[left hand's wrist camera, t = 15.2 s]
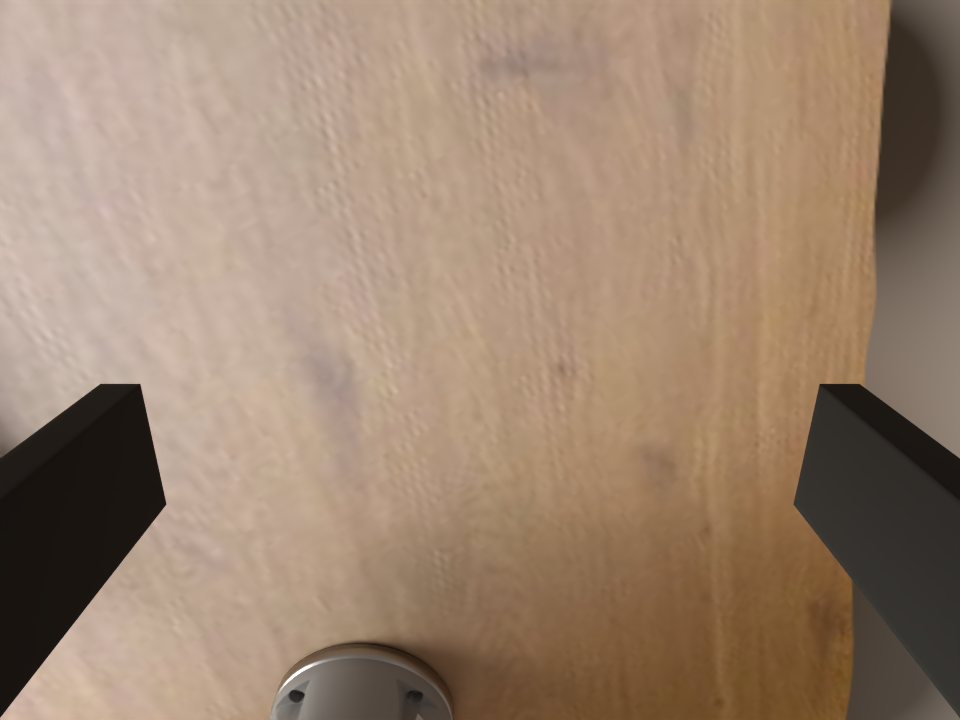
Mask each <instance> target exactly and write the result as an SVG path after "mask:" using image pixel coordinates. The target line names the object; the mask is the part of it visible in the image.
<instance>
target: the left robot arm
mask: <svg viewBox="0 0 960 720" xmlns="http://www.w3.org/2000/svg"><path fill="white" fill-rule="evenodd" d="M165 505H166V500H165V496H164V491H163V487H162V482H161V477H160V473H159V468H158V464H157V459H156V454H155V450H154V445H153V441H152V436H151V431H150V427H149V422H148V417H147V413H146V408H145V404H144V399H143V394H142V390H141V385H140V384H100V385H99V386H97V387H96V388H95V389H93V390H92V391H90V392H89V393H88V394H86V395H85V396H84V397H82V398H81V399H80V400H78V401H77V402H76V403H74V404H73V405H72V406H70V407H69V408H68V409H66V410H65V411H64V412H62V413H61V414H60V415H58V416H57V417H56V418H54V419H53V420H52V421H50V422H49V423H47V424H46V425H45V426H43V427H42V428H41V429H39V430H38V431H37V432H35V433H34V434H33V435H31V436H30V437H29V438H27V439H26V440H25V441H23V442H22V443H21V444H19V445H18V446H17V447H15V448H14V449H13V450H11V451H10V452H8V453H7V454H6V455H4V456H3V457H2V458H0V717H1V716H2V715H3V713H4V712H5V711H6V710H7V708H8V707H9V706H10V704H11V703H12V702H13V701H14V699H15V698H16V697H17V695H18V694H19V693H20V692H21V690H22V689H23V688H24V686H25V685H26V684H27V683H28V681H29V680H30V679H31V677H32V676H33V675H34V674H35V672H36V671H37V670H38V668H39V667H40V666H41V665H42V663H43V662H44V661H45V659H46V658H47V657H48V656H49V654H50V653H51V652H52V651H53V649H54V648H55V647H56V645H57V644H58V643H59V642H60V640H61V639H62V638H63V636H64V635H65V634H66V633H67V631H68V630H69V629H70V627H71V626H72V625H73V624H74V622H75V621H76V620H77V618H78V617H79V616H80V615H81V613H82V612H83V611H84V609H85V608H86V607H87V606H88V604H89V603H90V602H91V600H92V599H93V598H94V597H95V595H96V594H97V593H98V591H99V590H100V589H101V588H102V586H103V585H104V584H105V582H106V581H107V580H108V579H109V577H110V576H111V575H112V573H113V572H114V571H115V570H116V568H117V567H118V566H119V565H120V563H121V562H122V561H123V559H124V558H125V557H126V556H127V554H128V553H129V552H130V550H131V549H132V548H133V547H134V545H135V544H136V543H137V541H138V540H139V539H140V538H141V536H142V535H143V534H144V532H145V531H146V530H147V529H148V527H149V526H150V525H151V523H152V522H153V521H154V520H155V518H156V517H157V516H158V514H159V513H160V512H161V511H162V509H163V508H164V507H165ZM794 505H795V507H796V508H797V509H798V511H799V512H800V513H801V514H802V516H803V517H804V518H805V520H806V521H807V522H808V523H809V525H810V526H811V527H812V529H813V530H814V531H815V532H816V534H817V535H818V536H819V538H820V539H821V540H822V541H823V543H824V544H825V545H826V547H827V548H828V549H829V550H830V552H831V553H832V554H833V556H834V557H835V558H836V559H837V561H838V562H839V563H840V565H841V566H842V567H843V568H844V570H845V571H846V572H847V573H848V575H849V576H850V577H851V579H852V580H853V581H854V582H855V584H856V585H857V586H858V588H859V589H860V590H861V591H862V593H863V594H864V595H865V597H866V598H867V599H868V600H869V602H870V603H871V604H872V606H873V607H874V608H875V609H876V611H877V612H878V613H879V615H880V616H881V617H882V618H883V620H884V621H885V622H886V624H887V625H888V626H889V627H890V629H891V630H892V631H893V633H894V634H895V635H896V636H897V638H898V639H899V640H900V641H901V643H902V644H903V645H904V646H905V648H906V649H907V651H908V652H909V653H910V654H911V656H912V657H913V658H914V659H915V661H916V662H917V663H918V665H919V666H920V667H921V668H922V670H923V671H924V672H925V674H926V675H927V676H928V677H929V679H930V680H931V681H932V682H933V684H934V685H935V686H936V688H937V689H938V690H939V692H940V693H941V694H942V695H943V697H944V698H945V699H946V700H947V702H948V703H949V704H950V706H951V707H952V708H953V709H954V711H955V712H956V713H957V715H958V716H959V717H960V458H958V457H957V456H956V455H954V454H953V453H951V452H950V451H949V450H947V449H946V448H945V447H943V446H942V445H941V444H939V443H938V442H937V441H935V440H934V439H933V438H931V437H930V436H929V435H927V434H926V433H925V432H923V431H922V430H921V429H919V428H918V427H917V426H915V425H914V424H913V423H911V422H910V421H908V420H907V419H906V418H904V417H903V416H902V415H900V414H899V413H898V412H896V411H895V410H894V409H892V408H891V407H890V406H888V405H887V404H886V403H884V402H883V401H882V400H880V399H879V398H877V397H876V396H875V395H873V394H872V393H871V392H869V391H868V390H867V389H865V388H864V387H863V386H861V385H860V384H820V385H819V390H818V394H817V399H816V404H815V408H814V413H813V417H812V422H811V427H810V431H809V436H808V441H807V445H806V450H805V454H804V459H803V464H802V468H801V473H800V477H799V482H798V487H797V491H796V496H795V500H794ZM270 720H453V703H452V699H451V696H450V693H449V691H448V689H447V687H446V686H445V684H444V683H443V681H442V680H441V679H440V677H439V676H438V675H437V674H436V673H435V672H434V671H433V670H432V669H431V668H429V667H428V666H427V665H426V664H424V663H423V662H421V661H420V660H418V659H416V658H414V657H412V656H410V655H408V654H406V653H404V652H401V651H398V650H395V649H392V648H388V647H384V646H378V645H370V644H347V645H339V646H334V647H330V648H326V649H323V650H320V651H318V652H315V653H313V654H311V655H309V656H307V657H305V658H304V659H302V660H301V661H299V662H298V663H297V664H295V665H294V666H293V667H292V668H291V669H290V670H289V671H288V672H287V674H286V675H285V676H284V678H283V679H282V681H281V683H280V685H279V688H278V691H277V694H276V696H275V699H274V702H273V705H272V710H271V717H270Z"/></svg>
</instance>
